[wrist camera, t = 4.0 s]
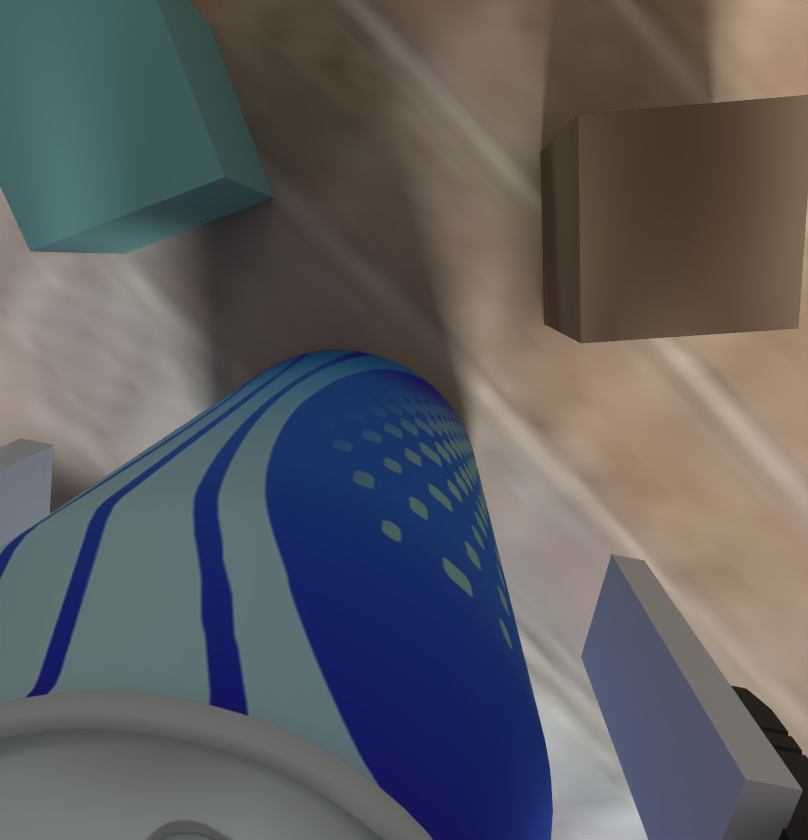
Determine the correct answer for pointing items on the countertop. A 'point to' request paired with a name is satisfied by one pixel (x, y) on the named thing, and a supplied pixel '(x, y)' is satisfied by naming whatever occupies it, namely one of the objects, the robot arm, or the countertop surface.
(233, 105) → the teal cube
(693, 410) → the countertop surface
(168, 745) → the beer can
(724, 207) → the walnut cube
